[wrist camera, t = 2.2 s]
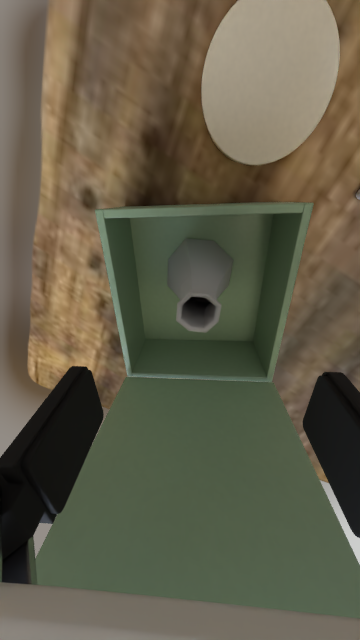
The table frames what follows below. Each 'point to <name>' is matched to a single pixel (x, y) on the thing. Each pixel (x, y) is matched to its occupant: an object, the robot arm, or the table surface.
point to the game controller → (358, 194)
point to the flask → (199, 282)
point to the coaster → (269, 77)
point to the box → (236, 300)
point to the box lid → (202, 505)
